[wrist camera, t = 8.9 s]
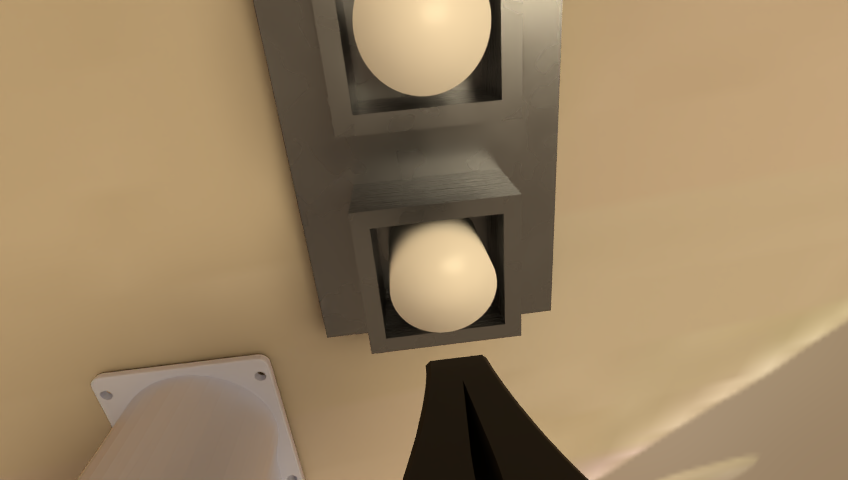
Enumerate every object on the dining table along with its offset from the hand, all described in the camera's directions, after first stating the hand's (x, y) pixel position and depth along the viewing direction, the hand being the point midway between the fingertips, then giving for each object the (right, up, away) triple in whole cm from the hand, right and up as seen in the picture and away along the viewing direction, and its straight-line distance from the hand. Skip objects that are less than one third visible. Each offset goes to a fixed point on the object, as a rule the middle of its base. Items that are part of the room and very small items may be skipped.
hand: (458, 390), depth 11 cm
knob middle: (-1, +11, +4) cm, 11 cm away
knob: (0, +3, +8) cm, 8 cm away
